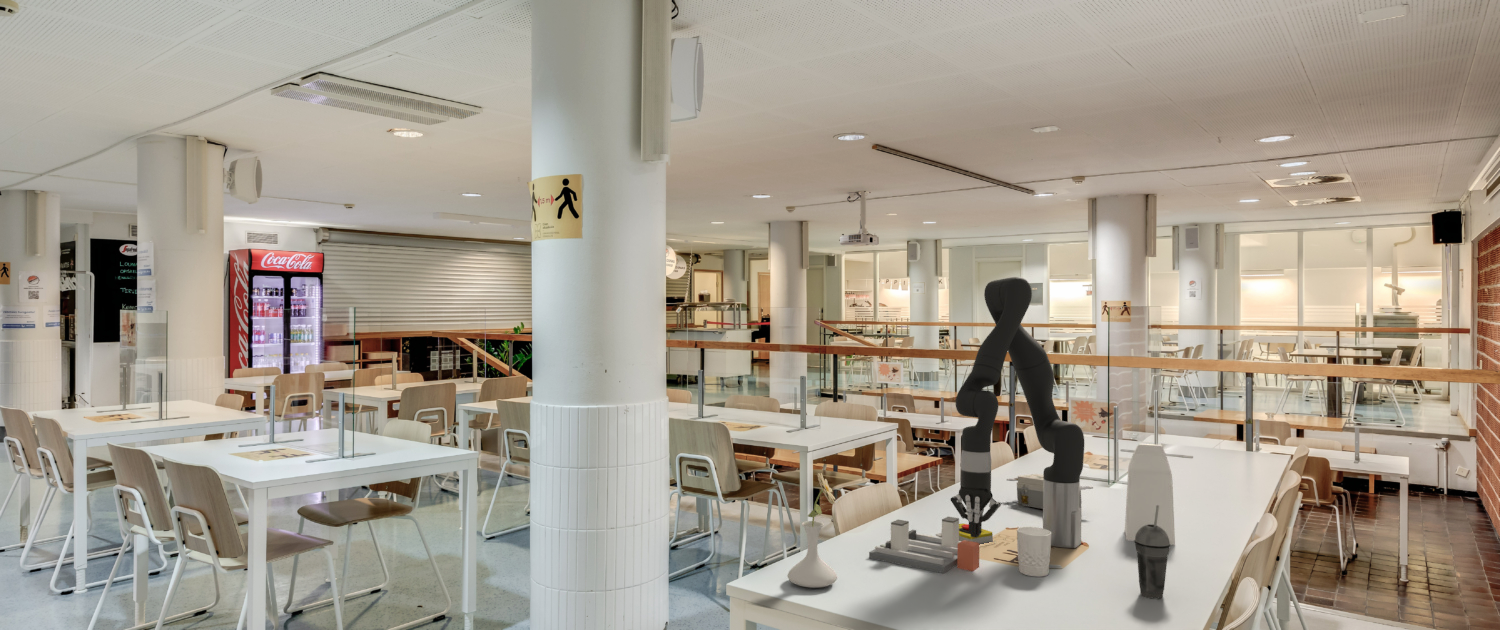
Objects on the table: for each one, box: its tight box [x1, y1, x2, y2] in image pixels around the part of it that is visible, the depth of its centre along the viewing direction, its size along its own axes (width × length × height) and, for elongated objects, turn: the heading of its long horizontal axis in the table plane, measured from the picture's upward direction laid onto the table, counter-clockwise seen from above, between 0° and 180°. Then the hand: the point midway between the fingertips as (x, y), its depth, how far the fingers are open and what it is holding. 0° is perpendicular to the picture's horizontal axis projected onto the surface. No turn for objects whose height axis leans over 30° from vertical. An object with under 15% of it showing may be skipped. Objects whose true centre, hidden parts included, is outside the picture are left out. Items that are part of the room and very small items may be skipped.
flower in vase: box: [787, 472, 838, 589], centre depth 190 cm, size 13×11×25 cm
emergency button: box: [935, 523, 994, 545], centre depth 228 cm, size 9×4×15 cm
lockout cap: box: [956, 540, 980, 572], centre depth 203 cm, size 4×4×6 cm
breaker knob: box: [890, 519, 910, 552], centre depth 210 cm, size 3×4×7 cm
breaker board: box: [868, 529, 961, 574], centre depth 213 cm, size 20×22×4 cm
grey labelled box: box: [1006, 473, 1094, 510], centre depth 266 cm, size 12×28×10 cm, turn 29°
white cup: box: [1016, 526, 1052, 578], centre depth 199 cm, size 8×8×10 cm
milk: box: [1124, 443, 1176, 546], centre depth 232 cm, size 12×12×26 cm
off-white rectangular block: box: [941, 516, 960, 548], centre depth 214 cm, size 3×4×7 cm
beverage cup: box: [1133, 505, 1171, 600], centre depth 184 cm, size 7×7×20 cm
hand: (974, 536), depth 210 cm, fingers closed
